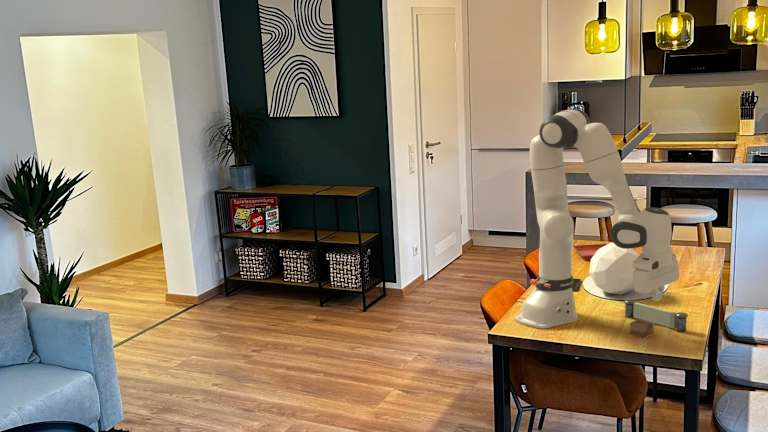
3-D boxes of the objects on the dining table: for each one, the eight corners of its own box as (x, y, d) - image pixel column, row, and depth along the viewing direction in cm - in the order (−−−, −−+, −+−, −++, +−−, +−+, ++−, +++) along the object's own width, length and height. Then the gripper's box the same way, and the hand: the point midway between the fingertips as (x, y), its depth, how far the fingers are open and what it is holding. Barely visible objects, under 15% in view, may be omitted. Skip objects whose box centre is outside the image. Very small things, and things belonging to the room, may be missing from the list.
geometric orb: (629, 312, 266) (651, 280, 251) (578, 293, 268) (597, 260, 253) (633, 276, 278) (655, 243, 264) (584, 258, 281) (603, 225, 266)
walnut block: (643, 338, 223) (644, 326, 222) (630, 334, 227) (630, 322, 226) (653, 334, 225) (653, 322, 225) (639, 330, 229) (639, 318, 229)
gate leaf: (674, 328, 228) (674, 313, 227) (633, 317, 240) (633, 303, 239) (676, 327, 229) (677, 312, 228) (635, 316, 241) (635, 302, 240)
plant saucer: (581, 262, 312) (581, 255, 311) (572, 252, 330) (572, 245, 329) (622, 260, 311) (622, 253, 311) (611, 250, 329) (611, 243, 328)
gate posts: (683, 333, 224) (683, 317, 223) (622, 316, 242) (622, 301, 241) (689, 330, 226) (689, 314, 225) (628, 314, 244) (628, 298, 243)
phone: (556, 288, 274) (561, 277, 287) (557, 291, 274) (561, 280, 288) (577, 289, 271) (581, 278, 285) (577, 292, 271) (581, 281, 285)
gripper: (666, 250, 232) (666, 290, 234) (629, 263, 220) (629, 305, 223) (684, 252, 226) (684, 293, 229) (646, 267, 215) (647, 310, 218)
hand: (657, 299), depth 226 cm, fingers closed
